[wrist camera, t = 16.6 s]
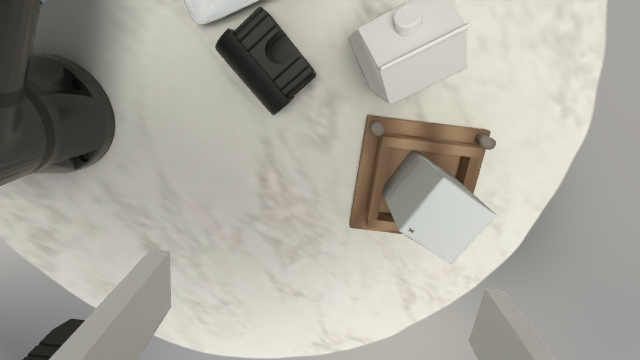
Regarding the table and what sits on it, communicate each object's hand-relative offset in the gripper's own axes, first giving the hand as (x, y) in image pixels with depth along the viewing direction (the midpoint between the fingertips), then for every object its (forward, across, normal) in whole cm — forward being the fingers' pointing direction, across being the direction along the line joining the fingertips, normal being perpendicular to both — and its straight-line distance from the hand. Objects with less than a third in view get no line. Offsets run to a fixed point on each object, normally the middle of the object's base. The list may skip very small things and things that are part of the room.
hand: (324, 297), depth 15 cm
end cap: (+35, -8, +8) cm, 37 cm away
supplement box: (+34, +13, -5) cm, 36 cm away
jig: (+35, +13, -5) cm, 37 cm away
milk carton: (+35, +6, +11) cm, 37 cm away
